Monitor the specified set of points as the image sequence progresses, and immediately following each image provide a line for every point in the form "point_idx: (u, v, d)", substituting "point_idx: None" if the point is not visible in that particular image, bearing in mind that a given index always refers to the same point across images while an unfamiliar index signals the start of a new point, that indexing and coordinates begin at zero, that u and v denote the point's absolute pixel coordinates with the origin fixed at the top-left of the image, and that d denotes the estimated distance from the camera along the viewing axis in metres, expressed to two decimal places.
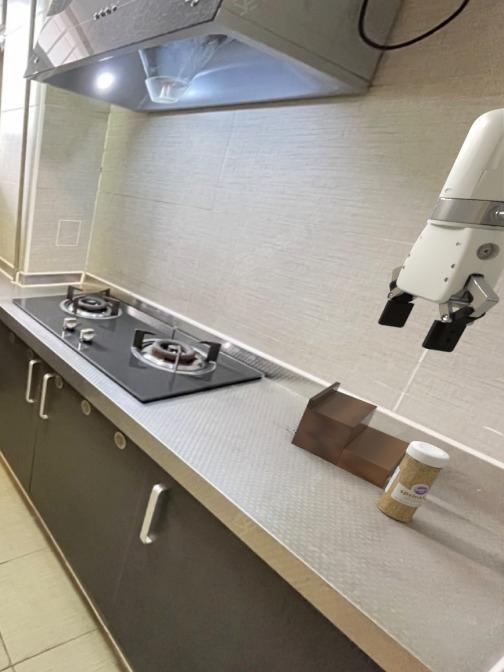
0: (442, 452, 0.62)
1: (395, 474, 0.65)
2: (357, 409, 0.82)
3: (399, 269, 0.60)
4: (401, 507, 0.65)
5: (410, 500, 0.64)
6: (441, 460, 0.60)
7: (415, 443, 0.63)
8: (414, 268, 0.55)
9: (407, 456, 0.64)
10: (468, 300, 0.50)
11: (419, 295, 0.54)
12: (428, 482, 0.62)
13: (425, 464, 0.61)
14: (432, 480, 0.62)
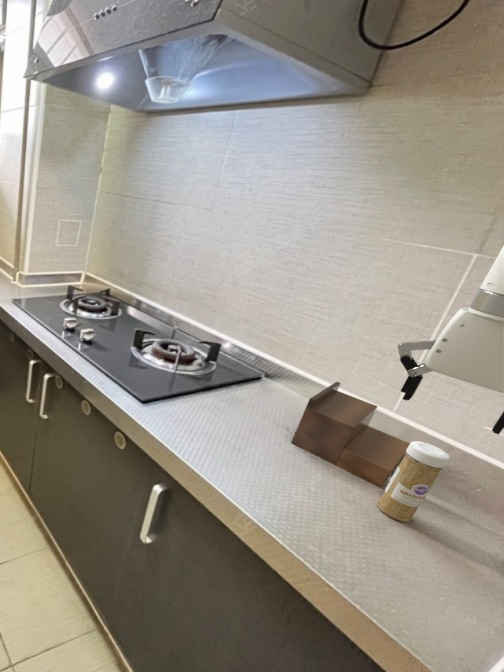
0: (442, 452, 0.62)
1: (395, 474, 0.65)
2: (357, 409, 0.82)
3: (410, 345, 0.62)
4: (401, 507, 0.65)
5: (410, 500, 0.64)
6: (441, 460, 0.60)
7: (415, 443, 0.63)
8: (464, 356, 0.56)
9: (407, 456, 0.64)
10: None
11: (476, 383, 0.56)
12: (428, 482, 0.62)
13: (425, 464, 0.61)
14: (432, 480, 0.62)
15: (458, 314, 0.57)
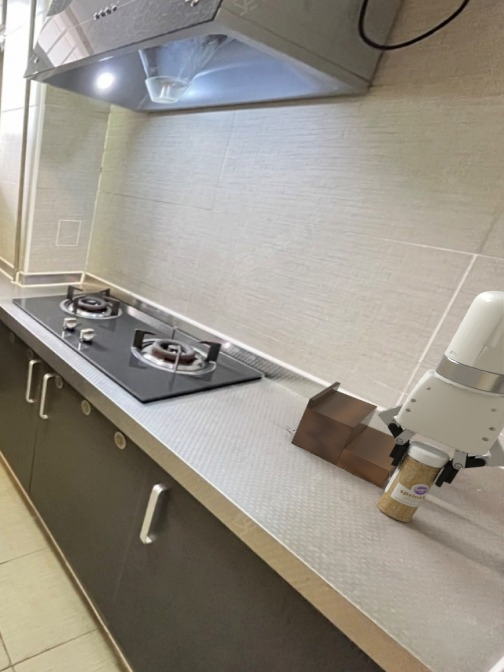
0: (442, 452, 0.62)
1: (395, 474, 0.65)
2: (357, 409, 0.82)
3: (388, 413, 0.65)
4: (401, 507, 0.65)
5: (410, 500, 0.64)
6: (441, 460, 0.60)
7: (415, 443, 0.63)
8: (431, 417, 0.60)
9: (407, 456, 0.64)
10: None
11: (443, 442, 0.60)
12: (428, 482, 0.62)
13: (425, 464, 0.61)
14: (432, 480, 0.62)
15: (425, 377, 0.61)
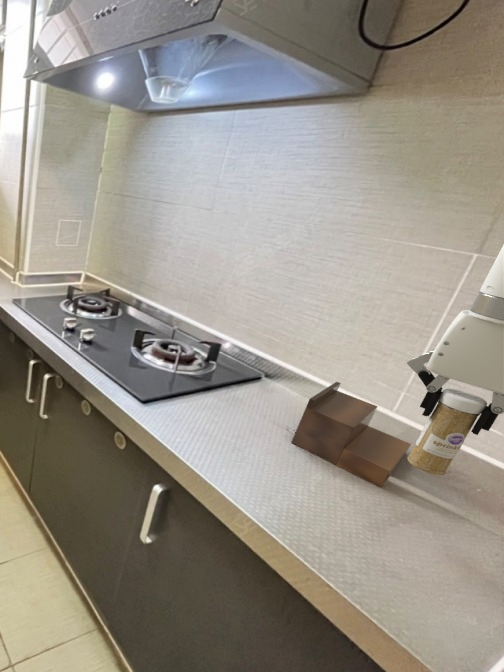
0: (478, 398, 0.58)
1: (427, 425, 0.62)
2: (357, 409, 0.82)
3: (418, 360, 0.62)
4: (435, 459, 0.61)
5: (444, 451, 0.60)
6: (478, 405, 0.57)
7: (448, 390, 0.60)
8: (466, 359, 0.56)
9: (440, 404, 0.60)
10: None
11: (480, 385, 0.56)
12: (464, 430, 0.58)
13: (460, 410, 0.58)
14: (468, 428, 0.58)
15: (459, 317, 0.57)
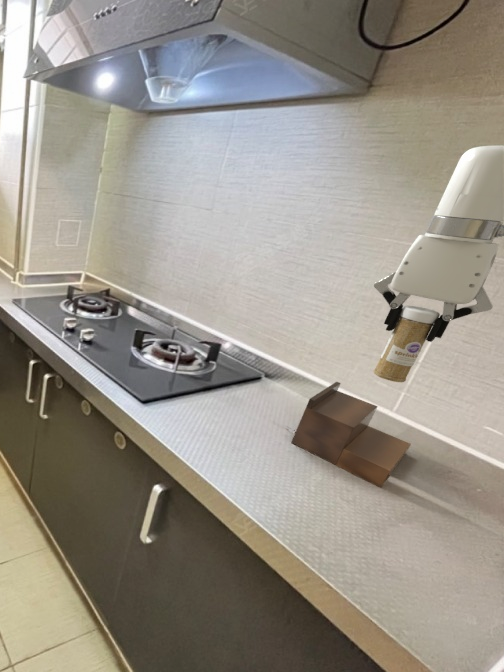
0: (432, 311, 0.67)
1: (390, 339, 0.71)
2: (357, 409, 0.82)
3: (383, 282, 0.71)
4: (396, 367, 0.70)
5: (404, 359, 0.69)
6: (432, 315, 0.66)
7: (408, 306, 0.69)
8: (422, 275, 0.65)
9: (401, 319, 0.69)
10: None
11: (433, 297, 0.65)
12: (420, 339, 0.67)
13: (417, 321, 0.67)
14: (424, 337, 0.67)
15: (416, 239, 0.66)
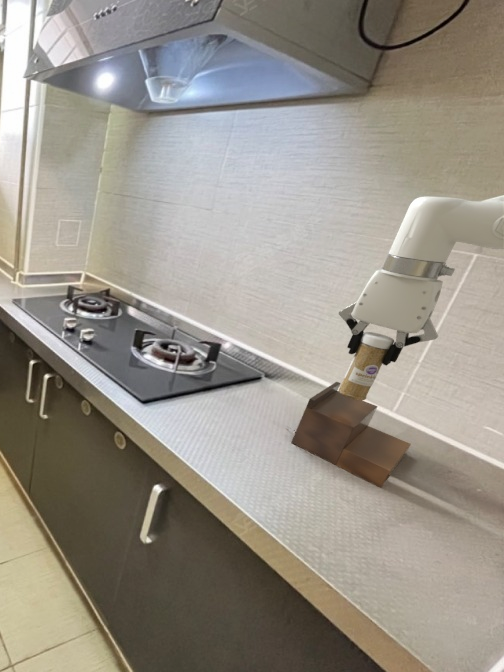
0: (388, 337, 0.75)
1: (352, 361, 0.79)
2: (357, 409, 0.82)
3: (346, 310, 0.79)
4: (356, 387, 0.78)
5: (363, 380, 0.77)
6: (386, 341, 0.74)
7: (367, 332, 0.77)
8: (378, 306, 0.73)
9: (361, 344, 0.77)
10: None
11: (387, 326, 0.73)
12: (377, 363, 0.76)
13: (374, 346, 0.75)
14: (380, 361, 0.75)
15: (374, 274, 0.74)
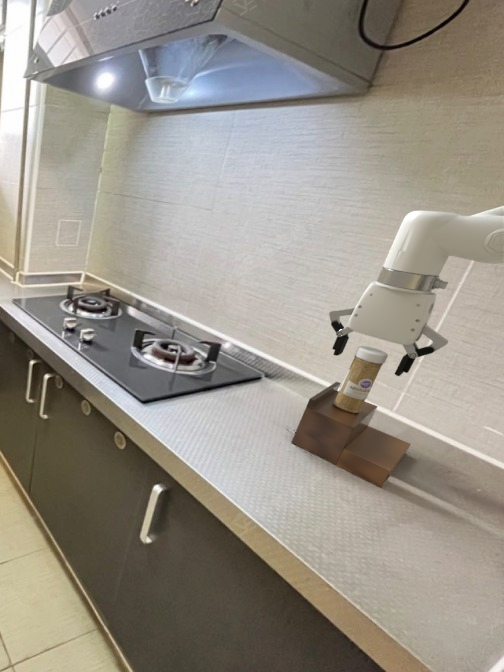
0: (382, 352, 0.76)
1: (346, 374, 0.80)
2: None
3: (337, 312, 0.80)
4: (351, 400, 0.79)
5: (357, 393, 0.78)
6: (380, 356, 0.75)
7: (361, 347, 0.78)
8: (373, 318, 0.74)
9: (355, 358, 0.78)
10: None
11: (382, 338, 0.74)
12: (371, 376, 0.77)
13: (368, 361, 0.76)
14: (374, 375, 0.77)
15: (368, 286, 0.75)
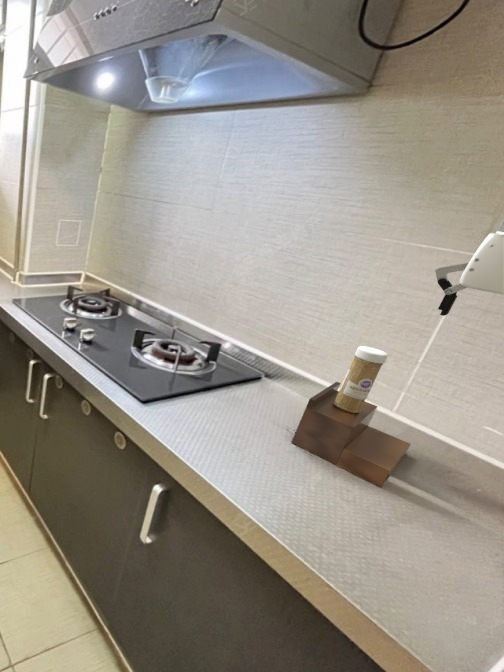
0: (382, 352, 0.76)
1: (346, 374, 0.80)
2: None
3: (446, 269, 0.74)
4: (351, 400, 0.79)
5: (357, 393, 0.78)
6: (380, 356, 0.75)
7: (361, 347, 0.78)
8: (493, 271, 0.69)
9: (355, 358, 0.78)
10: None
11: None
12: (371, 376, 0.77)
13: (368, 361, 0.76)
14: (374, 375, 0.77)
15: (488, 237, 0.69)
